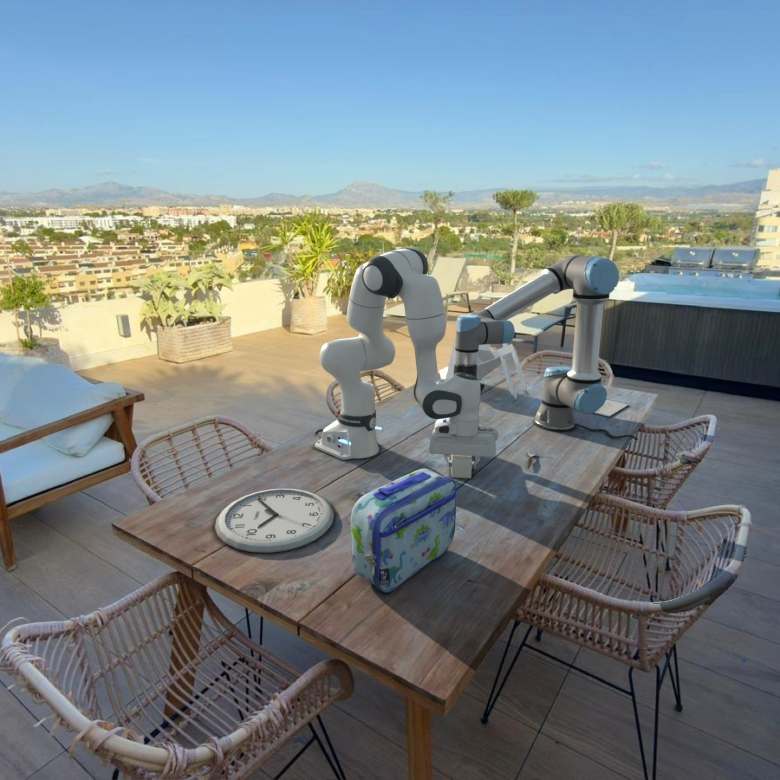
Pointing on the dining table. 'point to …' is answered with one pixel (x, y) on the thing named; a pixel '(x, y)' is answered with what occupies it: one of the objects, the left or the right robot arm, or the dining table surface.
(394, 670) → the dining table surface
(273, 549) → the wall clock
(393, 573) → the lunch box
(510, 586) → the dining table surface
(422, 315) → the left robot arm
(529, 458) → the fork
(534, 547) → the dining table surface
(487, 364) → the white plastic object
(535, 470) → the dining table surface
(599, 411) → the invitation card
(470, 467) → the peg block
